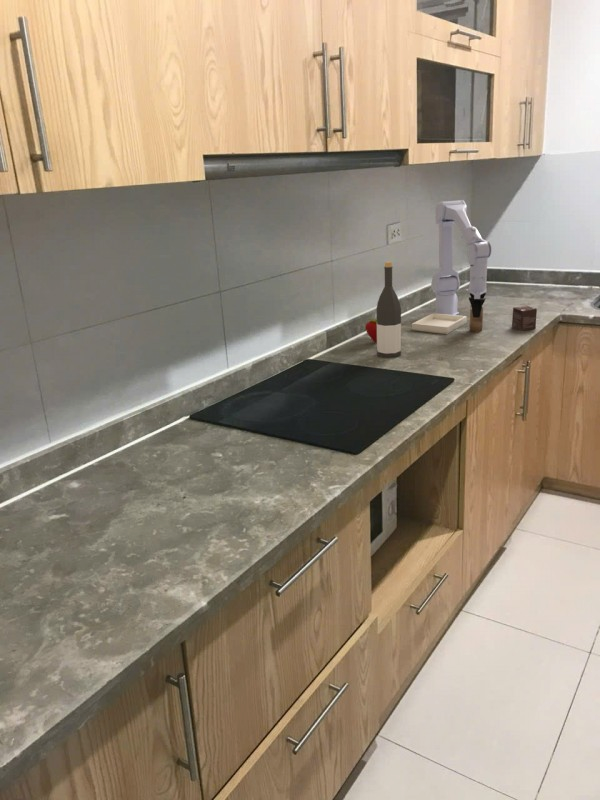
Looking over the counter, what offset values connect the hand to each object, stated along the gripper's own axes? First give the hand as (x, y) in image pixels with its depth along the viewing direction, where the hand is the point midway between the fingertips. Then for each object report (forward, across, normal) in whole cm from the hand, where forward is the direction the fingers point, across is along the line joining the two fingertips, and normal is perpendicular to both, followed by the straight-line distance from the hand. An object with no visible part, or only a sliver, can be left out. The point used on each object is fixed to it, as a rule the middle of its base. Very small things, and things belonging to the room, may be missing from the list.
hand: (476, 314), depth 231 cm
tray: (+6, -5, -13) cm, 15 cm away
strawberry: (+6, +19, -33) cm, 39 cm away
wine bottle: (+6, +33, -27) cm, 43 cm away
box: (+6, -5, +16) cm, 18 cm away
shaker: (+6, 0, 0) cm, 6 cm away
